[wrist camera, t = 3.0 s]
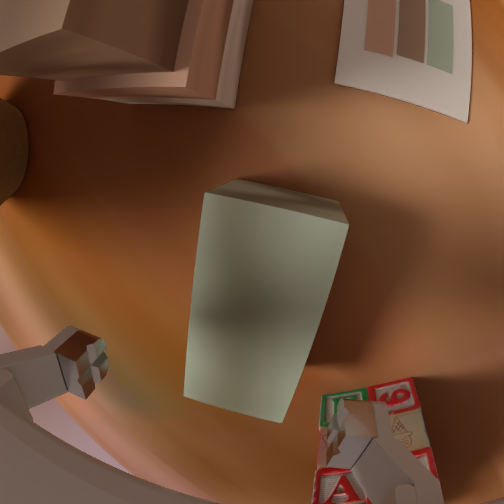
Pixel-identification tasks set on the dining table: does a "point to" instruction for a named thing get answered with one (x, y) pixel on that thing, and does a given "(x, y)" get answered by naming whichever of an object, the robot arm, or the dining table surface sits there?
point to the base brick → (184, 63)
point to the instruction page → (409, 52)
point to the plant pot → (12, 149)
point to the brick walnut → (89, 37)
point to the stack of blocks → (403, 428)
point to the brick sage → (259, 294)
